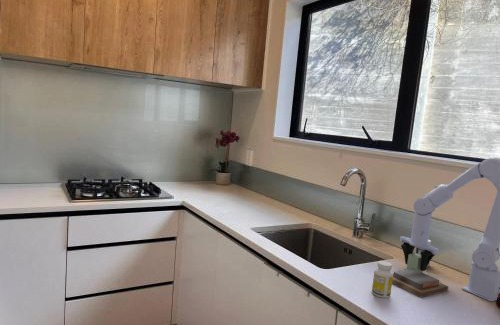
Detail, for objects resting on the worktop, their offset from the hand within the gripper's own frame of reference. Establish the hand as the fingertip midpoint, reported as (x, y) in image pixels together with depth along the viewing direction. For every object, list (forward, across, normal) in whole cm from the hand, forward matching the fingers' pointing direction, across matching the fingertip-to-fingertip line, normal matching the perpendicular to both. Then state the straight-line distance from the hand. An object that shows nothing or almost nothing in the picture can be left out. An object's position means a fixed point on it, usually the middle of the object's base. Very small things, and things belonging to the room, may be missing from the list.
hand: (415, 267), depth 138 cm
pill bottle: (+2, -4, +10) cm, 11 cm away
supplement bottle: (+2, +9, -29) cm, 30 cm away
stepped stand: (+2, +8, -11) cm, 14 cm away
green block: (+2, 0, 0) cm, 2 cm away
